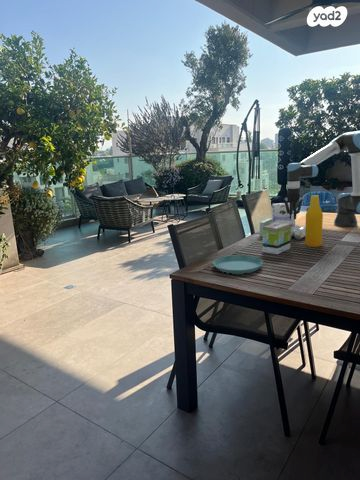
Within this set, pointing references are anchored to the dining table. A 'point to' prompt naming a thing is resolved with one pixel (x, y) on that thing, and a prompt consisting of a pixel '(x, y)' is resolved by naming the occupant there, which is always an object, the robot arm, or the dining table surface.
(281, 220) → the stone slab
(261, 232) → the block
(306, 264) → the dining table surface
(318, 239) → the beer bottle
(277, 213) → the candy box
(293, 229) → the roller bed
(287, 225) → the tea box
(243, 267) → the saucer
